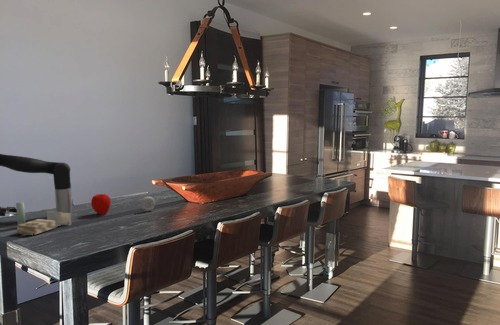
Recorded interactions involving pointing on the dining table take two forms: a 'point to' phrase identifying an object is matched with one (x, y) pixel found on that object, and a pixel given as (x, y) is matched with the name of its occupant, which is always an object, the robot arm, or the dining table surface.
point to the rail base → (58, 218)
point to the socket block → (36, 226)
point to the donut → (145, 200)
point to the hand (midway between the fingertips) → (11, 212)
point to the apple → (101, 203)
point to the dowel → (20, 213)
